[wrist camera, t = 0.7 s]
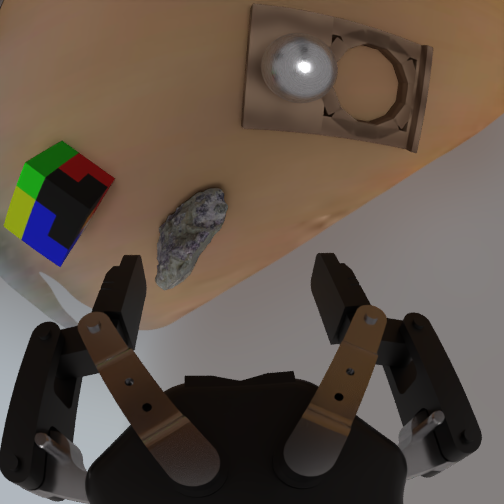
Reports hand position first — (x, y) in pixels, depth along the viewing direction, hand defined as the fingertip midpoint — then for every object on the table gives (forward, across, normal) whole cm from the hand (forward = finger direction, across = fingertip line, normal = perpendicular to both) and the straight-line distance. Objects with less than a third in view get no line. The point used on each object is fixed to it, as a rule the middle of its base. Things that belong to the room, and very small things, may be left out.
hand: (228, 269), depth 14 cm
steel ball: (+22, -8, -9) cm, 25 cm away
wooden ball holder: (+28, -15, -9) cm, 33 cm away
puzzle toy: (+28, +22, +6) cm, 36 cm away
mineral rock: (+28, +4, +14) cm, 31 cm away
